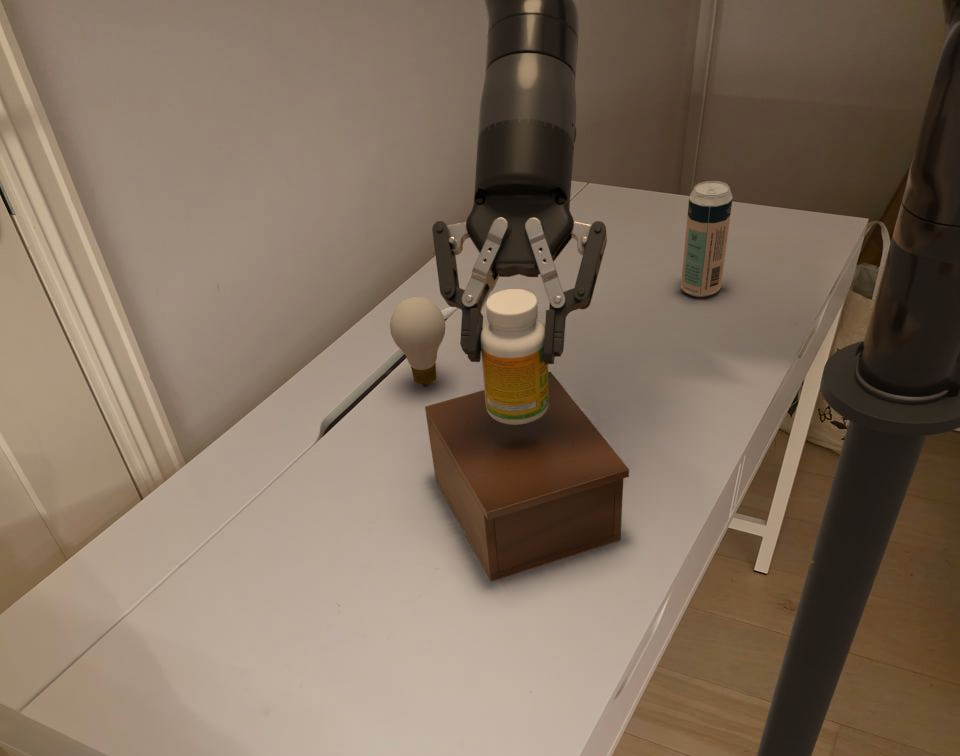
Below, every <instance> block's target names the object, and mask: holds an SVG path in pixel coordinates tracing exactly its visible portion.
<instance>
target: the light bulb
mask: <svg viewBox="0 0 960 756" xmlns="http://www.w3.org/2000/svg"><path fill="white" fill-rule="evenodd" d="M389 329H390V335H391V337H392V340H393V342H394V344H395V345H396V346H397V348H399V350H401V352H402V353H403V355H404V356H405V358H406V360H407V362H408V364H409V365H410V369H411V373H412V378H413V382H414V383H415V384H418V385H421V386H424V387H428V386H430V385H431V384H432V383H434V382H436V380H437V378H438V376H437V363H436V362H437V359H438V352H439V348H440V346H441V344H442V343H443V341H444V338H445V334H446V321H445V317H444V314H443V311H442V310H441V309H440V307H439V306H438V305H437V304H436V303H435V302H433V301H432V300H431V299H429V298H426V297H422V296H412V297H408V298H405V299H404V300H402V301H401V302H400V303H398V304H397V306H396V307H395V308H394V309H393V311H392V314H391V317H390V321H389Z"/></svg>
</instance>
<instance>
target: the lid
mask: <svg viewBox="0 0 960 756" xmlns="http://www.w3.org/2000/svg"><path fill="white" fill-rule="evenodd" d="M548 386H549V405H548V409H547V411H546V412H545V414H544V415H543V416H541V417H540V418H539V419H537V420H535V421H532V422H529V423H526V424H519V425H510V424H504V423H501V422H499V421H497V420H495V419H493V418H492V417H491V416H490V415H489V413H488V412H487V409H486V402H485V390H484V389H483V390H479V391H476V392H472V393H468V394H465V395H460V396H457V397H454V398H450V399H447V400H444V401H440V402H436V403H433V404H428V405H425V406H424V410H425V415H426V414H427V416H428V418H429V420H430V421H431V423H432V425H433V427H434V428H435V430H436V432H437V433H438V435H439V437H440V439H441V440H442V442H443V444H444V445H445V447H446V449H447V451H448V452H449V454H450V456H451V457H452V459H453V461H454V463H455V464H456V466H457V468H458V470H459V471H460V473H461V475H462V476H463V478H464V480H465V482H466V483H467V485H468V487H469V488H470V490H471V492H472V494H473V495H474V497H475V499H476V500H477V502H478V504H479V506H480V507H481V509H482V511H483V512H484V514H485V516H486V518H487V519H488V520H490V519H493V518H496V517H500V516H503V515H506V514H509V513H513V512H516V511H519V510H522V509H526V508H529V507H532V506H535V505H539V504H542V503H545V502H549V501H552V500H555V499H558V498H562V497H565V496H568V495H571V494H575V493H578V492H581V491H585V490H588V489H591V488H594V487H598V486H601V485H604V484H607V483H611V482H614V481H617V480H621V479H624V480H625V479H626V478H629V477H630V469H629V468H628V466H627V465H626V463H625V462H624V461H623V460H622V459H621V457H620V456H619V455H618V454H617V452H616V451H615V450H614V449H613V448H612V446H611V445H610V443H609V442H608V441H607V440H606V439H605V437H604V436H603V435H602V434H601V432H600V431H599V430H598V429H597V428H596V426H595V425H594V424H593V423H592V421H591V420H590V419H589V418H588V417H587V415H586V414H585V413H584V411H583V410H582V409H581V408H580V406H579V405H578V404H577V402H576V401H575V400H574V399H573V398H572V396H571V395H570V394H569V392H568V391H567V390H566V388H564V386H563V385H562V384H561V382H560V381H559V380H558V378H556V377H555V375H554V374H553V372H552V371H548Z"/></svg>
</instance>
